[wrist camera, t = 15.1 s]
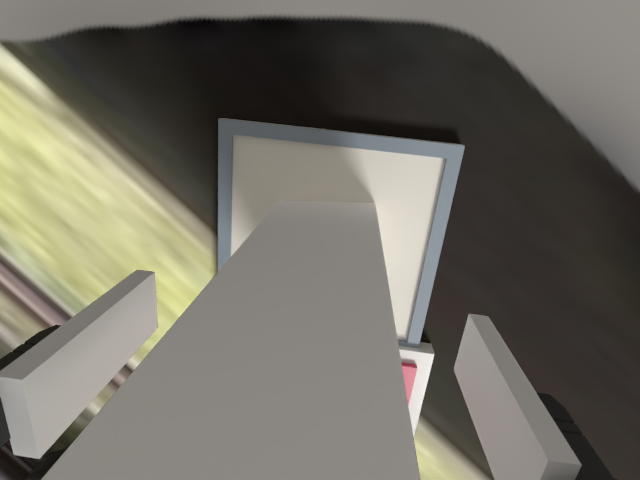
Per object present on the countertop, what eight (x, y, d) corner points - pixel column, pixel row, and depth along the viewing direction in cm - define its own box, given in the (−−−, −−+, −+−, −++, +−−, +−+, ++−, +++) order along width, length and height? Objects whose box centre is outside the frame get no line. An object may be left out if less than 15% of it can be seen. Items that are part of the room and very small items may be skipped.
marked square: (221, 319, 27) (217, 325, 26) (223, 118, 22) (218, 118, 21) (415, 347, 26) (416, 354, 25) (461, 144, 21) (464, 145, 21)
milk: (375, 201, 22) (597, 1291, 2) (370, 291, 25) (448, 1285, 4) (276, 199, 23) (-441, 1018, 2) (279, 287, 25) (-86, 1143, 4)
